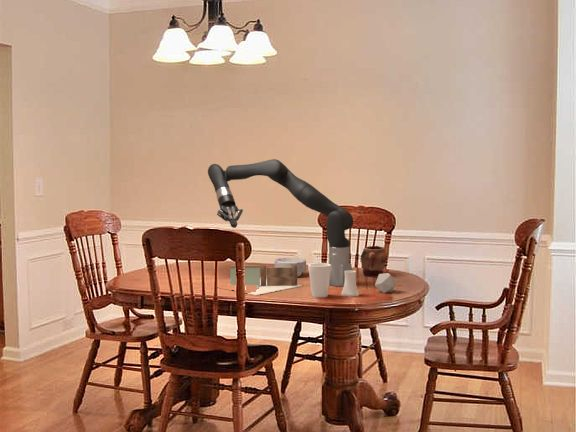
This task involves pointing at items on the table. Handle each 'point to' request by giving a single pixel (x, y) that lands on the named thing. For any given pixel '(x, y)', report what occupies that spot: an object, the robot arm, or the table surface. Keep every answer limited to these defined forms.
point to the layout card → (270, 288)
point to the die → (385, 283)
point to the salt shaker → (350, 284)
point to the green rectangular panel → (247, 275)
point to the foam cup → (319, 278)
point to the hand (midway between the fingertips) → (234, 226)
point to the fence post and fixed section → (279, 276)
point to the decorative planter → (373, 261)
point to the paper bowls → (290, 261)
